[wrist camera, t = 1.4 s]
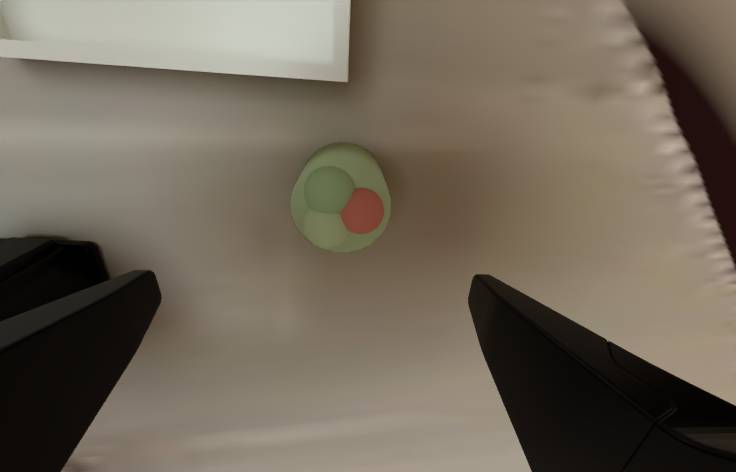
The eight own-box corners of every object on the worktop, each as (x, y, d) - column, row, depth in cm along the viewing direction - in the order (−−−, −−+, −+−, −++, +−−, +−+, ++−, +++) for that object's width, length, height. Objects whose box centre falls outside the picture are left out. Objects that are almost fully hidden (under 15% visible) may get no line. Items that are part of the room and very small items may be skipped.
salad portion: (379, 222, 22) (389, 267, 16) (303, 219, 21) (287, 264, 16) (387, 145, 19) (400, 168, 14) (301, 139, 19) (282, 161, 14)
